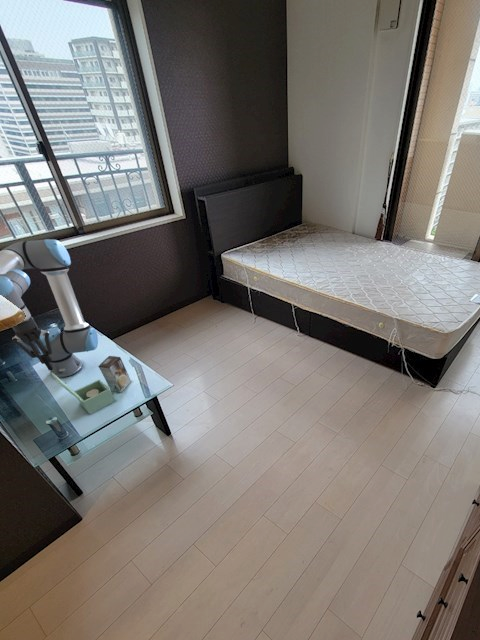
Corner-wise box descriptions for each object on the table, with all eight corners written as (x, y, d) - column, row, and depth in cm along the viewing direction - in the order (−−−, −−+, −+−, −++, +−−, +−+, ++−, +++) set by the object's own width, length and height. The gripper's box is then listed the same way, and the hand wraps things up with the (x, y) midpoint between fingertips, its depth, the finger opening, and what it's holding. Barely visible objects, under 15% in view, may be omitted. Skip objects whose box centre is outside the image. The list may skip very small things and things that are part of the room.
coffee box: (120, 379, 181) (109, 355, 170) (131, 381, 180) (120, 356, 169) (110, 390, 175) (97, 365, 164) (121, 392, 174) (109, 367, 163)
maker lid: (52, 372, 152) (50, 373, 151) (61, 383, 146) (60, 384, 146) (73, 390, 162) (71, 391, 162) (83, 401, 157) (81, 402, 156)
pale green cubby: (105, 391, 174) (99, 379, 169) (115, 401, 169) (109, 389, 164) (80, 403, 168) (73, 391, 162) (89, 414, 162) (82, 402, 157)
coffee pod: (100, 395, 171) (95, 387, 167) (105, 401, 168) (100, 392, 164) (88, 401, 168) (84, 393, 164) (93, 406, 165) (89, 398, 161)
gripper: (-2, 327, 125) (32, 377, 141) (38, 320, 129) (67, 369, 145) (2, 318, 130) (34, 367, 146) (40, 311, 134) (68, 359, 150)
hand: (51, 368), depth 145 cm, fingers closed
